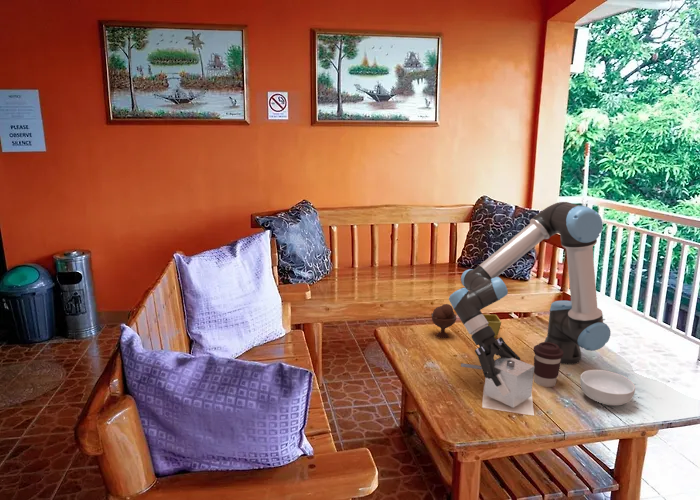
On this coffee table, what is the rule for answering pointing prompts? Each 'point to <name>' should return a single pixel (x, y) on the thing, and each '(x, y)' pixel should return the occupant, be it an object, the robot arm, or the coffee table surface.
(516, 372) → the metal cover
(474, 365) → the rubber mat
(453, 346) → the coffee table surface
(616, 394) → the cereal bowl
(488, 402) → the serving board
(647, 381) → the coffee table surface
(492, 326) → the flower pot
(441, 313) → the ice cream bowl
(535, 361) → the coffee cup
